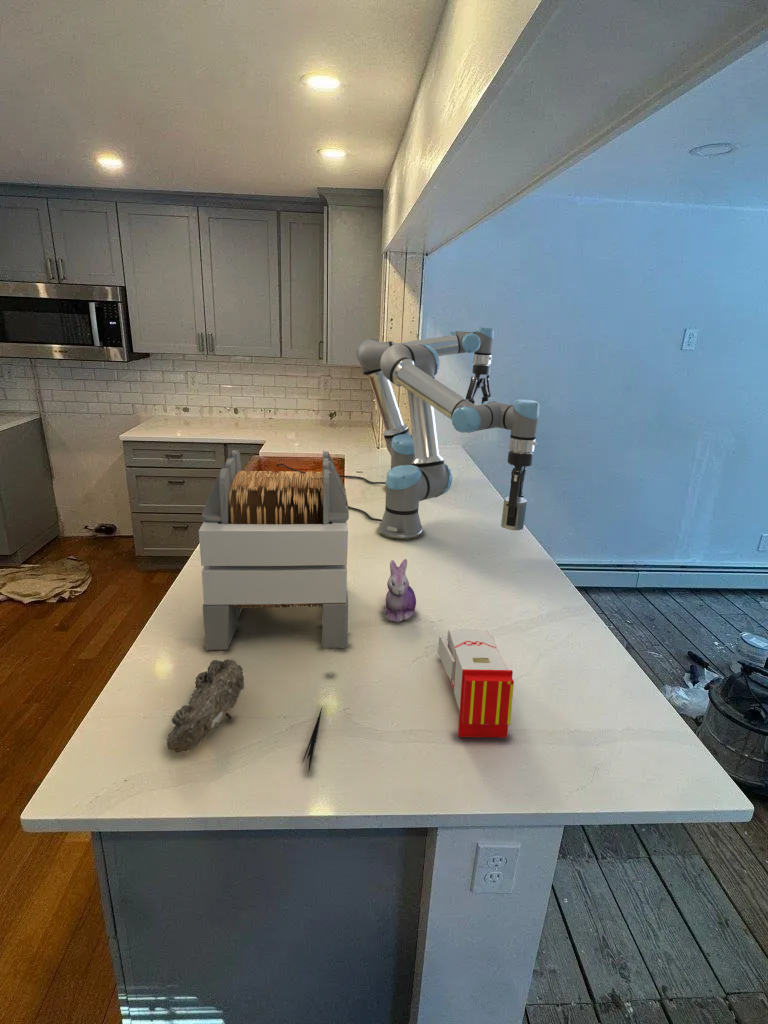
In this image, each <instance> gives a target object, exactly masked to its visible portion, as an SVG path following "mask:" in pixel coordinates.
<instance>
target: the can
mask: <svg viewBox="0 0 768 1024" xmlns="http://www.w3.org/2000/svg"><path fill="white" fill-rule="evenodd" d="M508 502H509V495H508V496H505V497H504V498H503V505H502V506H503V507H502V516H501V524H500V526H501V528H503V529H505V530H508V531H522V530H524V527H525V519H526V511H527V504H528V500H527V498H525V497H523V498H522V497H518V503H517V506H518V508H517V516H516V524H515V527H513V526H507V525H506V523H507V515H508V506H506V504H508Z"/></svg>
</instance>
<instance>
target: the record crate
mask: <svg viewBox="0 0 768 1024" xmlns="http://www.w3.org/2000/svg"><path fill="white" fill-rule="evenodd" d="M241 463H242V462H241V453H240V449H238V450H236V449H232V450H231V452H230V454H229V456H228V457H227V458H226V461H225V463H224V465H223V467H222V468H220V471H219V473H218V475H217V478H216V480H215V482H214V484H213V487H212V489H211V491H210V494H209V496H208V498H207V500H206V503H205V505H204V507H203V509H202V512H201V519H202V521H203V522H202V524H201V526H200V528H199V529H198V537H199V538H198V540H199V555H200V566H201V567H203V568H202V570H201V580H202V597H203V603H202V617H203V618H202V619H203V629H204V638H205V646H204V648H205V651H213V650H216V651H217V650H224V651H226V650H228V649H229V647H230V645H231V642H232V639H233V638H234V635H235V632H236V630H237V627H238V620H237V619H239V618H240V617H241V612H242V609H244V608H245V609H251V608H252V609H261V608H263V609H266V608H267V609H268V608H278V609H279V608H297V607H298V608H311V607H312V608H316V607H318V608H321V616H322V619H321V620H322V621H321V622H322V625H321V626H322V627H321V629H322V630H321V631H322V635H321V636H322V637H321V639H322V648H323V649H324V648H325V649H329V648H330V649H331V648H332V649H333V648H336V649H337V648H338V649H345V648H346V647H347V646H348V645H349V644H348V643H349V642H348V641H349V597H348V587H347V586H348V585H347V584H348V566H347V565H348V548H349V547H348V546H349V544H348V543H349V542H348V541H349V528H348V522H347V521H348V520H349V518H350V510H349V508H348V506H349V505H348V498H347V491H346V490H347V489H346V487H345V485H344V482H343V481H342V477H340V476H339V475H340V474H339V472H338V469H337V467H336V466H335V463H334V460H333V458H332V457H331V454H330V452H329V450H328V451H327V450H323V451H322V471H315V472H314V471H305V472H306V473H305V474H304V473H300V472H297V471H294V470H292V471H287V470H286V471H284V470H282V471H276V472H275V471H272V470H269V471H267V470H259V471H258V470H249V471H248V470H242V466H241ZM314 473H315V474H314Z"/></svg>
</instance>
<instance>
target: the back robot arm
mask: <svg viewBox="0 0 768 1024" xmlns="http://www.w3.org/2000/svg"><path fill="white" fill-rule="evenodd" d="M494 333H495V331H494V328H492V327H485V326H484V327H483V326H482V327H481V326H480V327H479V326H478V327H477V328H476V330H475V331H462V330H453V331H452V330H451V331H449V333H448V334H447V335H445V336H437V337H429V338H423V339H416V340H409V341H403V342H402V341H401V342H394V341H393V340H390V341H379V340H377V339H375V338H367V339H365V340H363V341H361V342H360V343H359V344H358V346H357V348H356V358H357V360H358V362H359V365H360V369H361V371H362V373H363V376H364V377H366V378H368V381H369V383H370V387H371V390H372V393H373V397H374V399H375V403H376V405H377V409H378V412H379V415H380V418H381V421H382V424H383V427H384V431H383V434H382V435H383V438H384V440H385V441H384V442H385V445H386V446H385V447H386V449H387V451H388V453H389V455H390V469H392V468H393V467H396V466H400V465H403V466H405V465H412V462H413V460H414V459H415V452H414V443H413V435H412V434H411V432H410V428H409V425H407V424H405V423H404V421H403V418H402V413H401V411H400V408H399V405H398V402H397V401H398V400H397V399H396V395H395V392H394V389H393V385H392V382H390V381H389V380H388V379H387V378H386V377H385V376H384V375H383V373H382V371H381V367H380V360H381V357H382V355H383V353H384V351H385V350H386V349H387V348H389V347H391V346H393V345H398V344H401V345H406V344H423V345H429V346H431V347H432V348H433V349H434V350H435V351H436V352H437V354H438V357H443V356H450V355H457V354H466V353H467V354H472V353H473V362H472V363H473V365H472V374H473V375H474V376H470V382H469V386H468V389H467V392H466V395H465V399H466V400H468V401H469V402H471V403H473V404H474V405H475V398H476V396H477V393H478V391H479V389H481V393H482V397H481V404H482V403H483V402H485V401H489V398H491V397H492V388H491V375H490V373H491V364H492V359H493V357H492V354H493V345H494V336H495V334H494ZM275 466H276V467H279V466H281V467H284V468H286V469H289V470H292V471H297V472H300V474H301V473H302V474H303V473H304V474H305V473H306V472H307V471H302V470H299V469H296V468H294V467H290V466H289V465H286V464H284V463H277V464H276V465H275ZM313 473H314V474H315V473H316V472H313ZM339 476H340V478H347V479H348V478H351V479H359V480H362V481H363V480H364V481H365V482H367V483H368V484H371V485H372V484H373V485H386V481H370V480H368V479H367V478H365V477H362V476H358V475H357V476H356V475H345V474H344V475H343V474H339Z"/></svg>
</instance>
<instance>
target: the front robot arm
mask: <svg viewBox="0 0 768 1024" xmlns="http://www.w3.org/2000/svg"><path fill="white" fill-rule="evenodd" d="M440 362H441V361H440V356H438V354H437V352H436V351H435V350H434V349H433V348H432V347H431V346H429V345H423V344H406V345H401V344H398V345H393V346H391V347H389V348H387V349H386V350H385V351H384V353H383V355H382V357H381V360H380V367H381V371H382V373H383V375H384V376H385V377H386V378H387V379H388V380H389V381H390V382H391V384H393V385H394V386H396V387H403V388H404V389H405V390H406V392H407V393H406V394H407V400H408V401H407V402H408V410H409V418H410V427H411V435H412V436H413V443H414V452H415V459H414V460H413V462H412V465H405V466H403V465H400V466H396V467H393V468H392V469H391V468H390V469H389V470H388V472H387V474H386V479H385V482H386V484H385V504H384V505H385V507H384V508H385V509H384V513H383V515H382V519H381V518H376V517H372V516H370V515H369V513H368V512H367V511H365V510H362V509H360V508H356V507H354V506H353V507H352V506H349V505H348V510H349V509H350V510H352V511H357V512H360V513H362V514H363V515H365V516H366V517H367V518H368V519H369V520H372V521H376V522H379V525H378V533H379V534H380V535H381V536H382V537H385V538H387V539H389V540H395V541H410V540H415V539H418V538H420V537H421V536H422V535H423V525H422V524H421V518H420V515H419V507H420V506H419V505H420V502H422V501H426V500H429V499H433V498H439V497H440V496H442V495H445V494H446V493H447V492H448V491H450V489H451V487H452V484H453V473H452V470H451V468H449V465H448V464H445V458H443V457H442V456H441V455H440V451H439V443H438V435H437V426H436V424H437V423H436V417H435V416H436V415H435V410H436V411H438V412H439V413H441V414H442V415H444V416H445V417H447V418H448V419H450V420H451V424H452V426H453V428H454V429H455V430H456V431H457V432H459V433H465V434H466V433H468V434H469V433H474V432H478V431H484V430H490V429H496V428H499V429H504V430H508V431H510V436H509V443H508V450H509V451H508V454H507V463H508V464H509V465H511V466H514V468H512V469H511V472H510V475H511V476H510V477H511V478H510V488H509V495H508V496H509V502H508V504H506V506H508V515H507V523H506V525H507V526H513V527H515V524H516V516H517V508H518V506H517V503H518V497H522V498H525V497H524V495H523V488H524V483H525V477H526V474H527V469H526V467H530V466H532V465H533V461H534V453H533V452H534V451H535V446H537V445H538V442H536V439H537V438H536V437H537V436H536V435H537V429H538V424H539V423H538V422H539V419H540V403H539V402H538V401H536V400H532V399H516V400H515V401H514V403H513V404H508V403H503V402H497V401H490V400H488V401H485V402H483V403H482V402H481V404H475V403H474V404H473V403H471V402H469V401H468V400H466V397H463V396H462V395H460V394H459V393H457V392H456V391H454V390H453V389H452V388H450V387H448V386H447V385H445V384H443V383H442V382H440V381H439V380H438V379H436V378H435V376H436V375H437V374H438V373H439V371H440V367H441V363H440Z"/></svg>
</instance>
